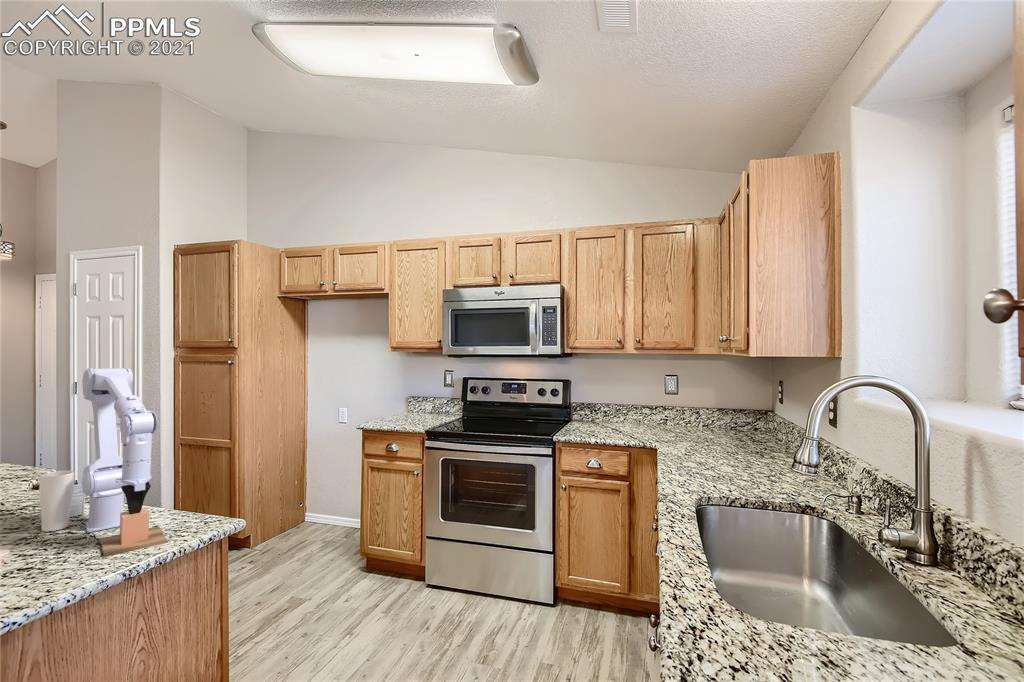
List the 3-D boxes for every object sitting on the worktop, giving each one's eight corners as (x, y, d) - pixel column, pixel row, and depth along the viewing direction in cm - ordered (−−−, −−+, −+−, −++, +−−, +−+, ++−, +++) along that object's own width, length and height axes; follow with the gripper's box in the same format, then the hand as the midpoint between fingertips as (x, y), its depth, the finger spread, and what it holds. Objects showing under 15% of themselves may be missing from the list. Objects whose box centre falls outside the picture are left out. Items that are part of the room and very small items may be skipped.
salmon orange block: (119, 538, 116) (120, 512, 116) (145, 533, 120) (146, 508, 120) (121, 544, 112) (122, 518, 112) (148, 539, 116) (149, 513, 116)
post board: (100, 541, 116) (100, 522, 116) (158, 529, 124) (159, 511, 125) (104, 556, 107) (104, 536, 108) (166, 542, 116) (167, 523, 116)
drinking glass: (30, 534, 119) (32, 477, 120) (48, 525, 126) (51, 470, 126) (61, 532, 121) (64, 476, 121) (78, 523, 128) (80, 469, 128)
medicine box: (81, 512, 136) (83, 483, 137) (84, 515, 133) (85, 486, 134) (44, 519, 130) (45, 488, 130) (45, 523, 127) (47, 492, 128)
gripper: (113, 457, 119) (111, 509, 118) (119, 467, 109) (117, 524, 108) (147, 453, 124) (145, 503, 123) (156, 463, 114) (154, 517, 113)
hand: (134, 513), depth 116 cm, fingers closed, pressing on salmon orange block
